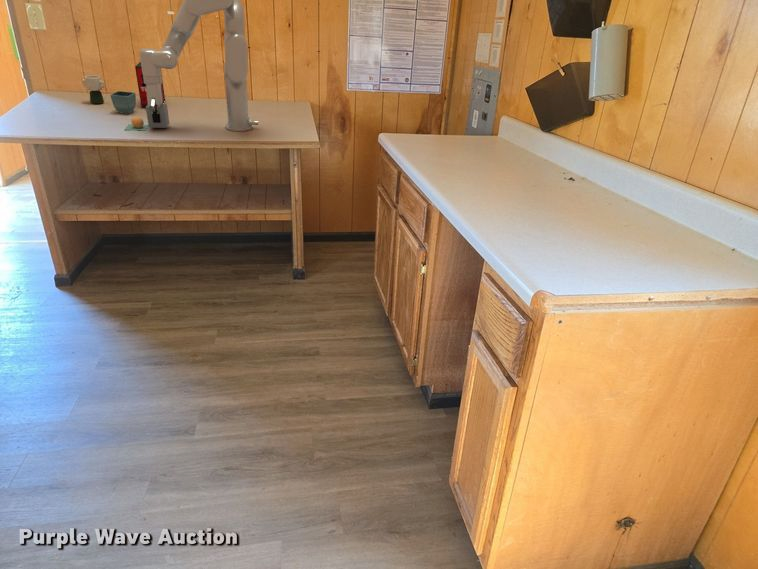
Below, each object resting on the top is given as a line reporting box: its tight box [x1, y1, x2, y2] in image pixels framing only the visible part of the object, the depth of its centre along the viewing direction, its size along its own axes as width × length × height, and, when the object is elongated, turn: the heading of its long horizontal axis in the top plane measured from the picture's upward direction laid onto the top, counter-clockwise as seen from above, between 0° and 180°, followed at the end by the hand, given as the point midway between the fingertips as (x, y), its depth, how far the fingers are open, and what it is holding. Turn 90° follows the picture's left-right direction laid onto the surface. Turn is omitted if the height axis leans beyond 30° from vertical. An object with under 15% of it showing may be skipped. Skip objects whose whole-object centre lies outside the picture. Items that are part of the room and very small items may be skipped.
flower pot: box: [110, 90, 137, 115], centre depth 257 cm, size 9×9×9 cm
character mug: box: [82, 74, 106, 104], centre depth 266 cm, size 11×7×13 cm, turn 88°
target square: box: [123, 123, 149, 132], centre depth 240 cm, size 9×9×1 cm
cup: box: [145, 103, 170, 129], centre depth 239 cm, size 8×8×9 cm
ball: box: [131, 116, 145, 128], centre depth 239 cm, size 5×5×5 cm
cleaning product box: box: [134, 61, 166, 109], centre depth 270 cm, size 16×9×20 cm, turn 10°
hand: (158, 119), depth 240 cm, fingers closed on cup, 7 cm apart
